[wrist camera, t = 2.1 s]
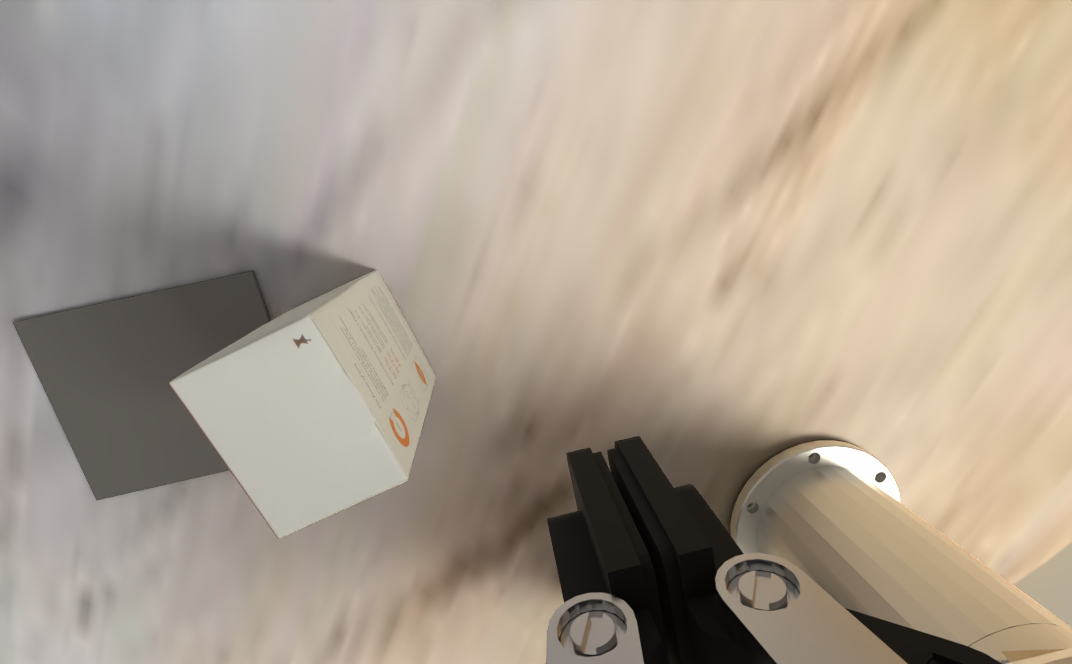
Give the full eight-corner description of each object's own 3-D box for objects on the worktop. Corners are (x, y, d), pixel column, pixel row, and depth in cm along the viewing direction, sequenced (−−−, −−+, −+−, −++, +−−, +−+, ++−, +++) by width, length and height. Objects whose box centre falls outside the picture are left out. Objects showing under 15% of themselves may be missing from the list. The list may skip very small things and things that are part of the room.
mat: (314, 448, 35) (313, 451, 35) (99, 497, 35) (96, 500, 34) (253, 270, 32) (251, 271, 32) (17, 321, 32) (12, 322, 31)
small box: (285, 311, 33) (160, 380, 20) (377, 267, 33) (310, 308, 20) (351, 420, 35) (276, 545, 22) (439, 379, 35) (413, 480, 22)
